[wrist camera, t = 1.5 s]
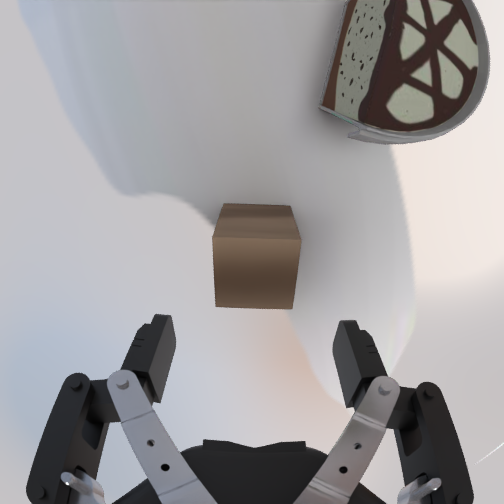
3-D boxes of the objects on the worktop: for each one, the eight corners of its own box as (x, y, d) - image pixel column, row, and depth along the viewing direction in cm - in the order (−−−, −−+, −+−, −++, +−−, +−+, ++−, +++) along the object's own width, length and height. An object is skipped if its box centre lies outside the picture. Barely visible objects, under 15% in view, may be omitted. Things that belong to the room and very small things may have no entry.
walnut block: (223, 203, 21) (212, 237, 16) (290, 205, 21) (301, 239, 16) (224, 261, 24) (215, 306, 18) (284, 262, 24) (292, 309, 18)
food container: (387, 153, 19) (468, 191, 10) (312, 126, 18) (362, 142, 9) (418, 22, 13) (498, -4, 4) (348, -11, 13) (404, -70, 4)
